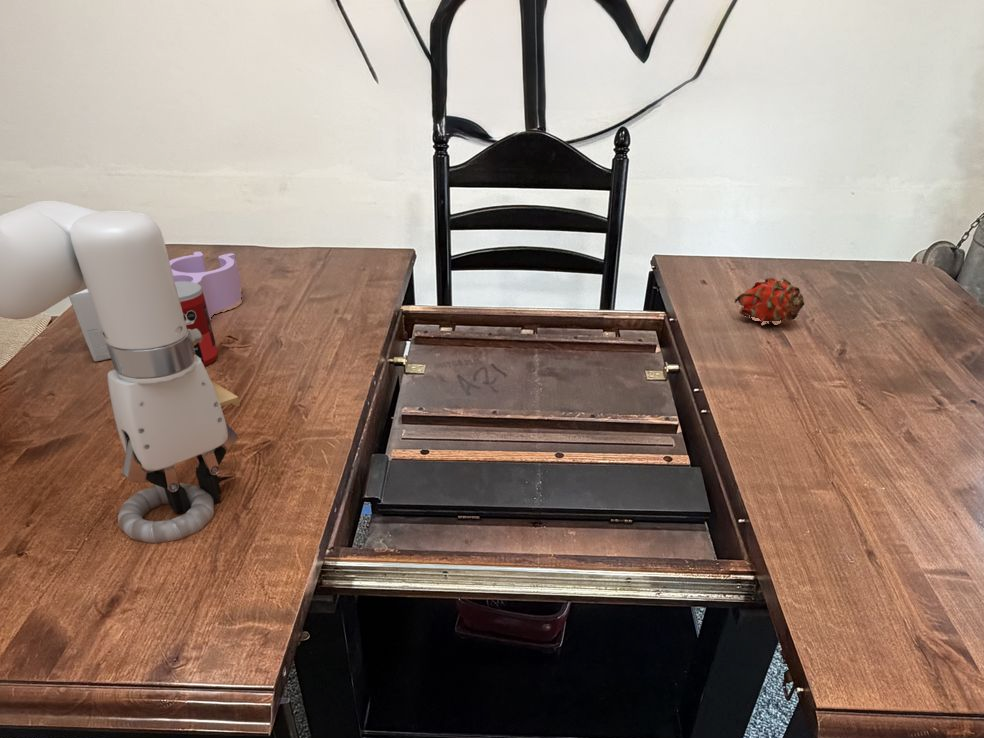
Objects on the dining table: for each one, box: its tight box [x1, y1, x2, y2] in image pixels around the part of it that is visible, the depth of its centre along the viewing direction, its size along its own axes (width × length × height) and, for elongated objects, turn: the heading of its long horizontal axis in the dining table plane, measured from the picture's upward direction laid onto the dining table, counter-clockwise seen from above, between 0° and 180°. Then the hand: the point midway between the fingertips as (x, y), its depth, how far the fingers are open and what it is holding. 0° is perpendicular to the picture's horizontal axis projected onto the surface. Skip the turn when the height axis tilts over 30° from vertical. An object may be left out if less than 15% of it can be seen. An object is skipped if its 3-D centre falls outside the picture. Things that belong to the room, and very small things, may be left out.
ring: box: [117, 482, 215, 544], centre depth 80 cm, size 10×10×2 cm
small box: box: [68, 289, 111, 363], centre depth 113 cm, size 8×6×10 cm
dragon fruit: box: [734, 277, 806, 323], centre depth 128 cm, size 8×8×12 cm
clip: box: [169, 251, 243, 318], centre depth 130 cm, size 20×12×7 cm, turn 173°
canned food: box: [175, 281, 218, 367], centre depth 111 cm, size 8×8×11 cm
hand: (198, 506), depth 82 cm, fingers closed on ring, 2 cm apart
